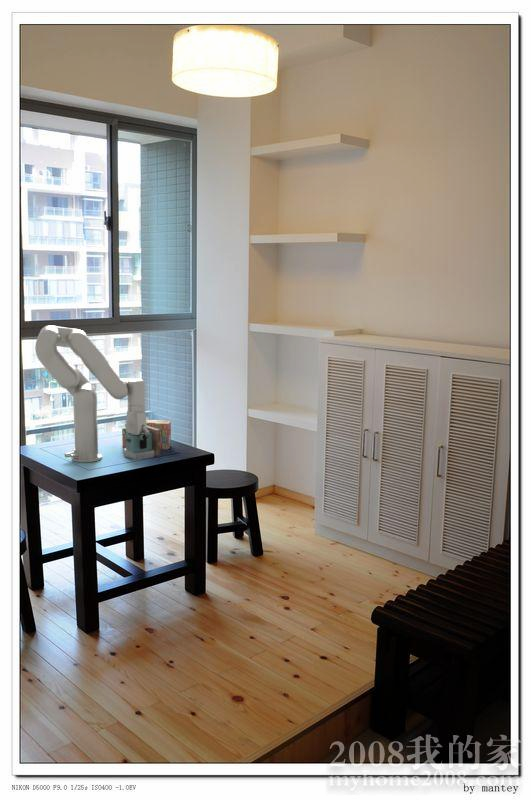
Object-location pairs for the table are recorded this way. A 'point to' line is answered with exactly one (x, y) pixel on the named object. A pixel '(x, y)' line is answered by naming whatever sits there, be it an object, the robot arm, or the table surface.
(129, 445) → the teal cabinet
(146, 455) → the wooden bookend
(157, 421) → the stack of blocks
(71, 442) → the table surface
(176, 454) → the table surface
